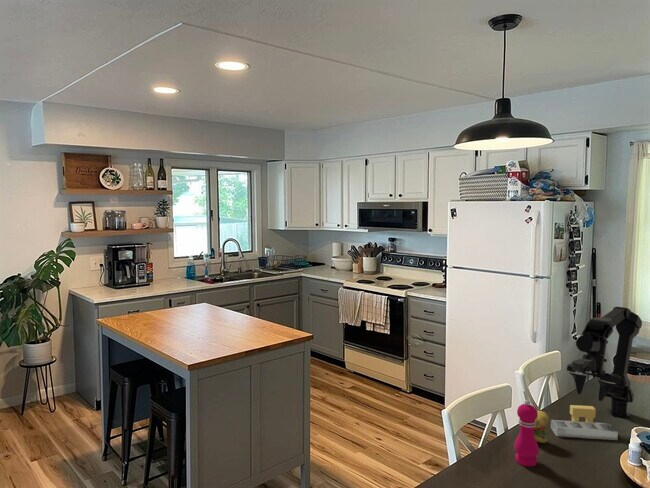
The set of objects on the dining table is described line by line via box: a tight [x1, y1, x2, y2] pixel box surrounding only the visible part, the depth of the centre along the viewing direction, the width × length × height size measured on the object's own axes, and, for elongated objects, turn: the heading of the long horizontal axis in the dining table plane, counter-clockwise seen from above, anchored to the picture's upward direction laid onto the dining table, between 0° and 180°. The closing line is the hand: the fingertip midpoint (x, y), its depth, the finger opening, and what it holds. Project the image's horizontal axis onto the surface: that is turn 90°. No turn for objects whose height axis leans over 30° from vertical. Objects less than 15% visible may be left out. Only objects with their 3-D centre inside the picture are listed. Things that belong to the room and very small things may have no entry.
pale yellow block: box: [569, 404, 597, 422], centre depth 185 cm, size 8×3×6 cm, turn 81°
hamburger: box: [534, 410, 550, 444], centre depth 170 cm, size 8×7×12 cm
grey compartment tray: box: [550, 419, 619, 441], centre depth 176 cm, size 20×7×3 cm, turn 81°
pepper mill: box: [513, 399, 540, 467], centre depth 156 cm, size 7×7×20 cm
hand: (589, 397), depth 178 cm, fingers open, 9 cm apart
